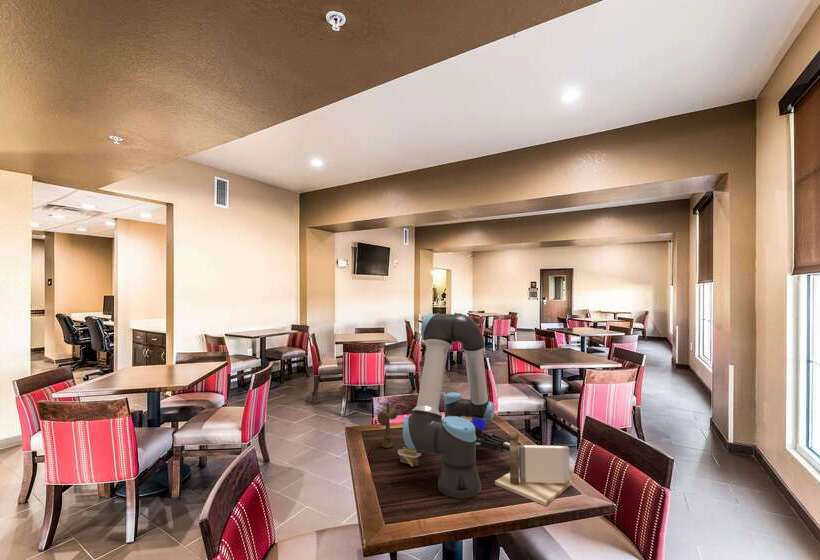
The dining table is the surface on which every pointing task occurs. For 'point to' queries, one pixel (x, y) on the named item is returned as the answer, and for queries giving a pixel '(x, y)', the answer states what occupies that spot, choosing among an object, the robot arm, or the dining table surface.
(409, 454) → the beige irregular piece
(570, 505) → the dining table surface
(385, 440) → the kendama
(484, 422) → the hyacinth
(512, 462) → the gate frame
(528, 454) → the gate
